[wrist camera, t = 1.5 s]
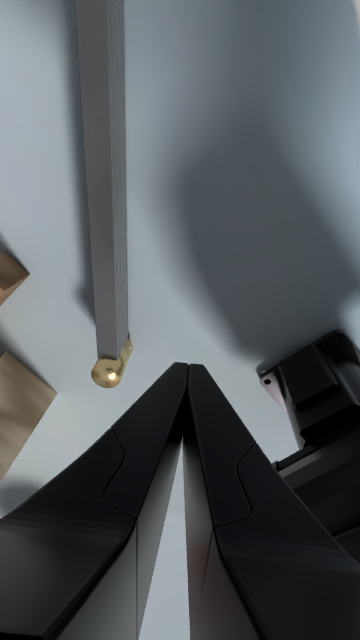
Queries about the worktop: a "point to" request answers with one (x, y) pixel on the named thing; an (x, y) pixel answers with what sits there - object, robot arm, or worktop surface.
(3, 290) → the walnut cradle
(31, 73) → the worktop surface
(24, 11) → the worktop surface
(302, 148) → the worktop surface
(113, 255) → the bar
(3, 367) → the birch block
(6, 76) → the worktop surface
